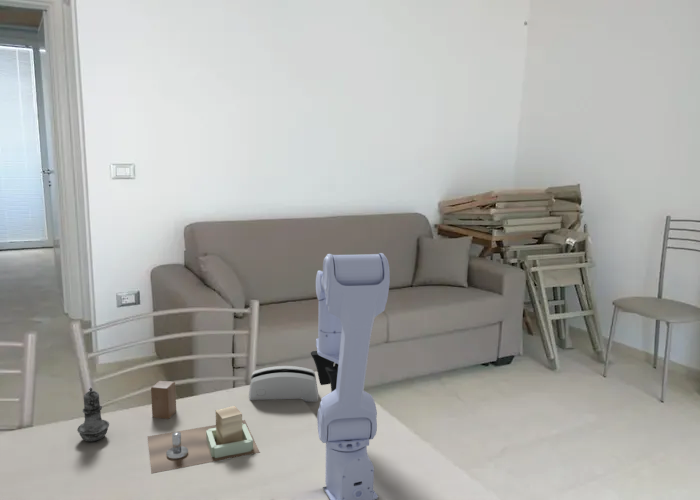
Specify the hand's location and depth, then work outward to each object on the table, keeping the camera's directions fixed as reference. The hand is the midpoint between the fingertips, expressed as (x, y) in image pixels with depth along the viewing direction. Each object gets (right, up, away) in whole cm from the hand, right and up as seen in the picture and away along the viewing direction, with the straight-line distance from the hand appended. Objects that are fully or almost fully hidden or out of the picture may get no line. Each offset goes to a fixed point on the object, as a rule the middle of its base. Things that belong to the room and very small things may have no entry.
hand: (331, 391), depth 116 cm
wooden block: (-37, -8, +8) cm, 39 cm away
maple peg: (-20, -10, -4) cm, 23 cm away
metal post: (-30, -10, -8) cm, 32 cm away
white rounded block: (-12, -7, +18) cm, 23 cm away
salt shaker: (-48, -10, -3) cm, 49 cm away
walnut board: (-26, -10, -4) cm, 28 cm away
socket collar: (-20, -10, -4) cm, 23 cm away
